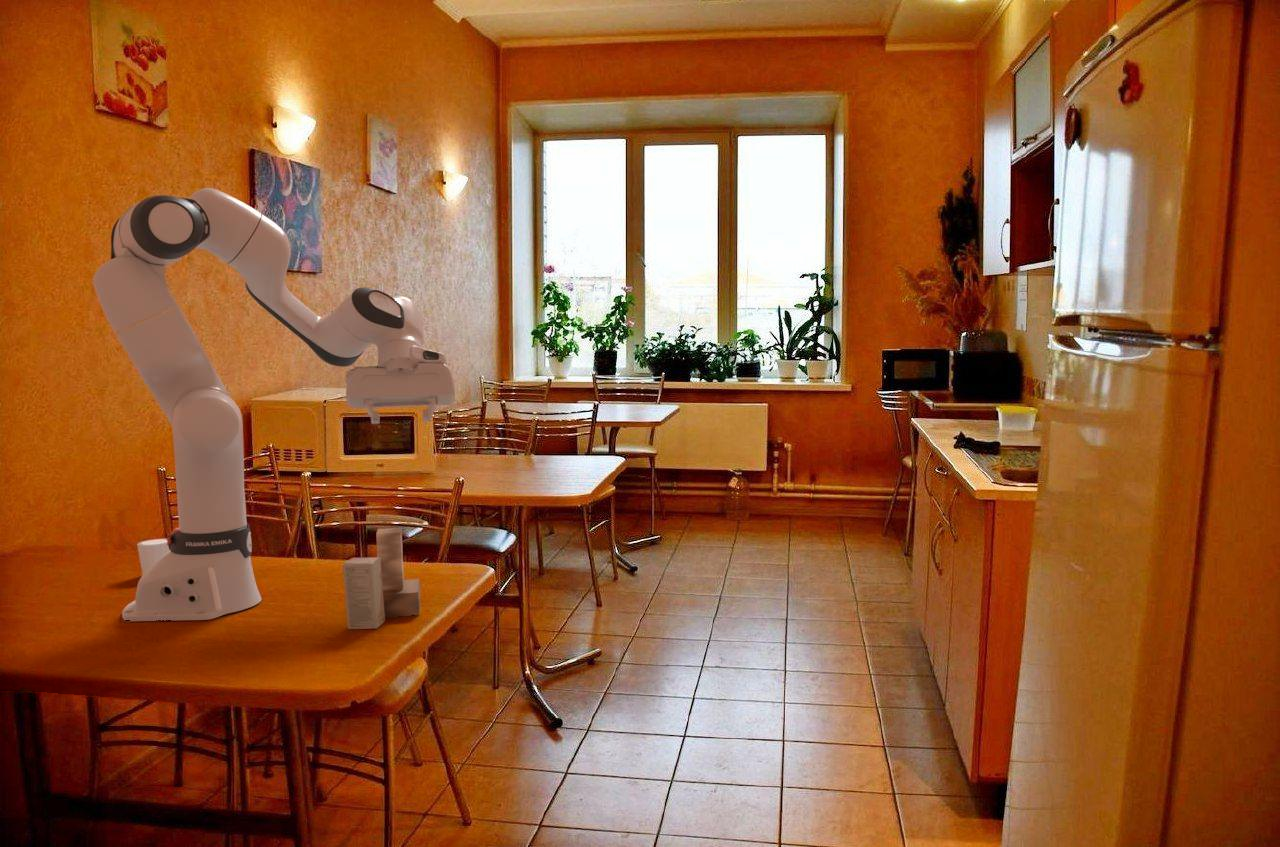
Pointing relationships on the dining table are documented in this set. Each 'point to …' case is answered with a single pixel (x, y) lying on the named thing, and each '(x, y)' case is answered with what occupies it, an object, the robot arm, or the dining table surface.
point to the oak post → (391, 558)
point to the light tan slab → (403, 600)
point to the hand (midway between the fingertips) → (401, 420)
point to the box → (364, 593)
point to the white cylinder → (152, 552)
